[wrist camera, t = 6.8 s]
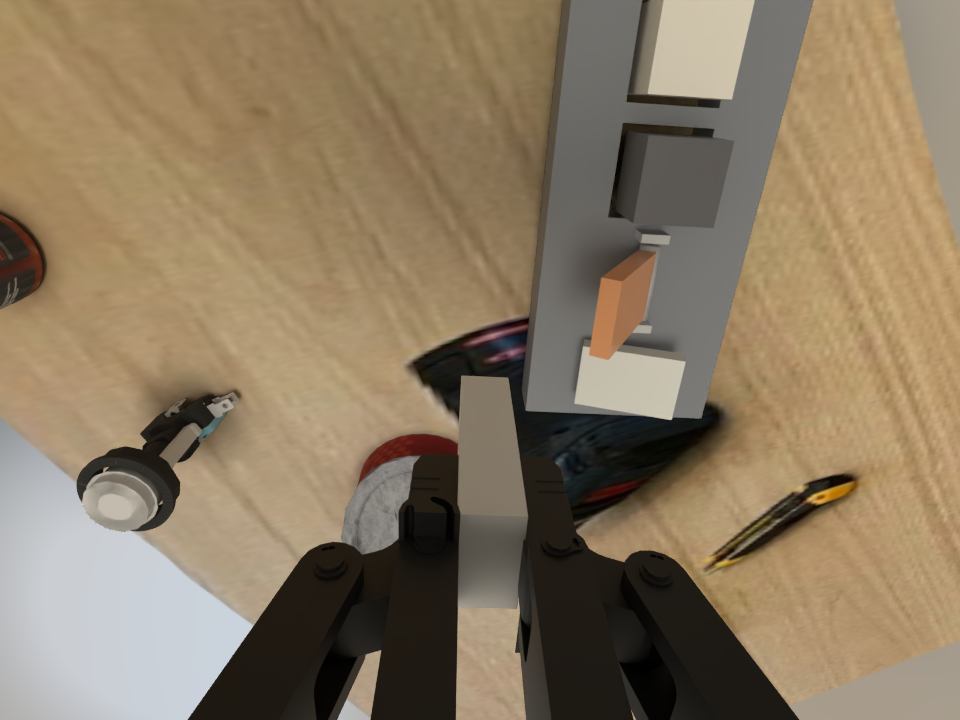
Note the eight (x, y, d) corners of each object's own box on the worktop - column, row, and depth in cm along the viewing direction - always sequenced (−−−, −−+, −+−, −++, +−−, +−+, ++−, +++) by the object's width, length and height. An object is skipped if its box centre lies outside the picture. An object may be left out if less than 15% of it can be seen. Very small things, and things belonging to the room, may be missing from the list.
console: (568, -51, 29) (584, -76, 25) (792, -34, 29) (844, -55, 25) (521, 389, 40) (527, 421, 36) (685, 396, 40) (709, 429, 36)
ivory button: (640, 5, 29) (665, -9, 25) (719, 11, 29) (755, -2, 25) (626, 94, 31) (647, 93, 27) (700, 99, 31) (731, 99, 27)
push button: (216, 363, 38) (139, 444, 29) (262, 422, 40) (202, 514, 31) (140, 401, 40) (43, 491, 31) (189, 456, 42) (111, 555, 33)
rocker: (584, 339, 35) (583, 346, 34) (683, 353, 33) (685, 361, 32) (575, 394, 36) (574, 403, 35) (670, 410, 35) (671, 420, 34)
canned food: (366, 456, 48) (290, 492, 38) (459, 402, 44) (401, 427, 35) (429, 574, 47) (367, 641, 37) (529, 528, 43) (488, 590, 34)
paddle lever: (643, 242, 32) (599, 272, 26) (663, 245, 32) (625, 277, 25) (629, 312, 34) (586, 358, 28) (649, 317, 34) (609, 364, 27)
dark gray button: (627, 130, 30) (648, 135, 26) (702, 135, 30) (734, 140, 27) (614, 209, 32) (633, 223, 28) (686, 213, 32) (713, 228, 28)
